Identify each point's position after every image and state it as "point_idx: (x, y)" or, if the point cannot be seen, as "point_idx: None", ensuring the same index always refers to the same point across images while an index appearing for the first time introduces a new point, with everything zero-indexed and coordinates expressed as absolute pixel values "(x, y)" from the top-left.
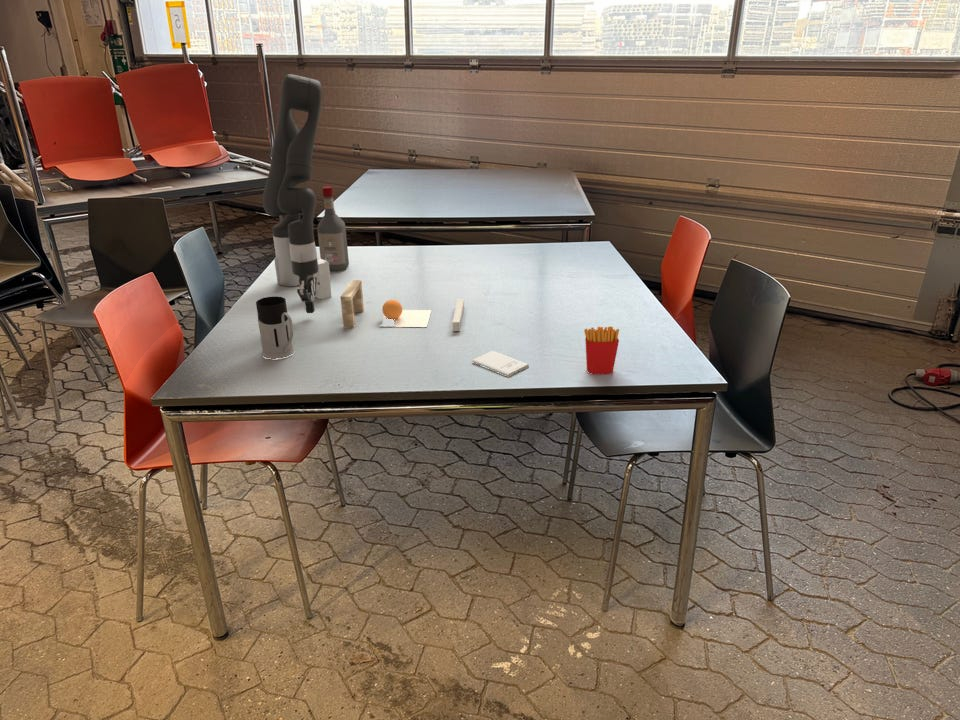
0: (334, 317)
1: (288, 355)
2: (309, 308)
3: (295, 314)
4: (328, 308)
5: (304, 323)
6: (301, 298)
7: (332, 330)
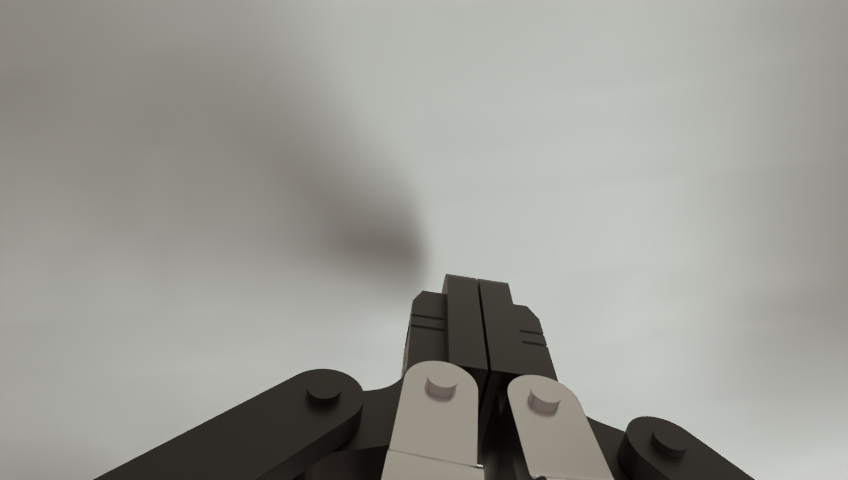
0: None
1: None
2: (404, 354)
3: (637, 74)
4: (719, 404)
5: (309, 220)
6: (194, 443)
7: None
